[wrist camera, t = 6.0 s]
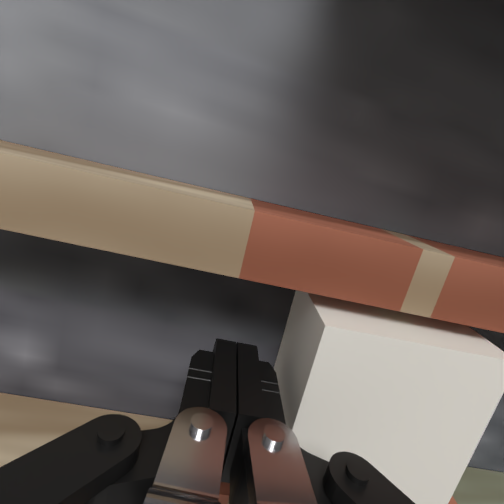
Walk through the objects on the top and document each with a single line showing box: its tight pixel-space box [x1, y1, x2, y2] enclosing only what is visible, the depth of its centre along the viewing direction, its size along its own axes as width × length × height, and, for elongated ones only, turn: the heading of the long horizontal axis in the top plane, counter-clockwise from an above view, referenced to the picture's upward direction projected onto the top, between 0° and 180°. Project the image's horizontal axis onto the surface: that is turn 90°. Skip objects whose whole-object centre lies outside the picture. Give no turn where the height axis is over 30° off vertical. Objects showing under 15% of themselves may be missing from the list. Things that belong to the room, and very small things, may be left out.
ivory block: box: [274, 290, 504, 504], centre depth 12 cm, size 6×6×4 cm
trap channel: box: [0, 140, 504, 504], centre depth 13 cm, size 12×28×3 cm, turn 77°
